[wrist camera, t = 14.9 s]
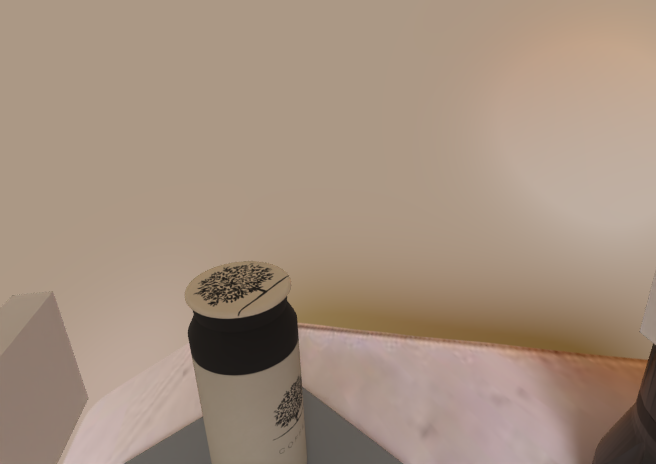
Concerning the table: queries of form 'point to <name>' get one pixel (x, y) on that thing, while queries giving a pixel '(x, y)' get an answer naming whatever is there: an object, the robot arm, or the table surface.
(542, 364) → the table surface
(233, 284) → the travel mug
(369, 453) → the mat
